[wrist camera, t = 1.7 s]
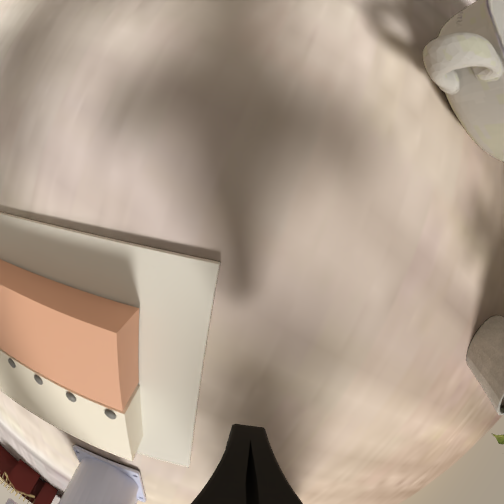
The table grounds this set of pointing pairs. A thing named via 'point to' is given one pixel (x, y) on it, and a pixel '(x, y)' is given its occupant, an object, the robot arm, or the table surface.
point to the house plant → (489, 362)
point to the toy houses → (24, 480)
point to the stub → (70, 335)
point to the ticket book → (74, 409)
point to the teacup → (473, 71)
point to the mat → (150, 315)
